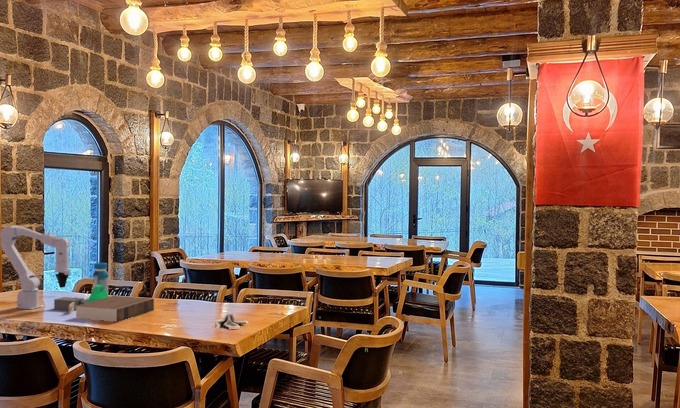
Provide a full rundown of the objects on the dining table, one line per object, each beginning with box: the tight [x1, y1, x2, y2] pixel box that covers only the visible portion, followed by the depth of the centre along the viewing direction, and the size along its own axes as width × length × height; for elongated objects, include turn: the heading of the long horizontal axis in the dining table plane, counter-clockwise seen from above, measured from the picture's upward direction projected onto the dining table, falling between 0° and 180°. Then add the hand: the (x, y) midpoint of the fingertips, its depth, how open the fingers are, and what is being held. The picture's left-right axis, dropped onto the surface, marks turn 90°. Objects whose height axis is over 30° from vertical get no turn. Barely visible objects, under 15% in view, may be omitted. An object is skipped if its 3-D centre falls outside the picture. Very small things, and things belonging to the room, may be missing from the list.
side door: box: [68, 302, 76, 315], centre depth 277 cm, size 8×1×4 cm, turn 12°
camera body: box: [53, 296, 85, 311], centre depth 286 cm, size 13×7×6 cm, turn 77°
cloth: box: [212, 312, 249, 329], centre depth 253 cm, size 22×19×6 cm
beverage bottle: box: [92, 262, 110, 296], centre depth 315 cm, size 8×8×20 cm
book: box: [75, 295, 155, 323], centre depth 274 cm, size 24×28×6 cm
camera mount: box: [86, 285, 110, 303], centre depth 298 cm, size 12×8×10 cm, turn 145°
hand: (62, 287), depth 289 cm, fingers closed
